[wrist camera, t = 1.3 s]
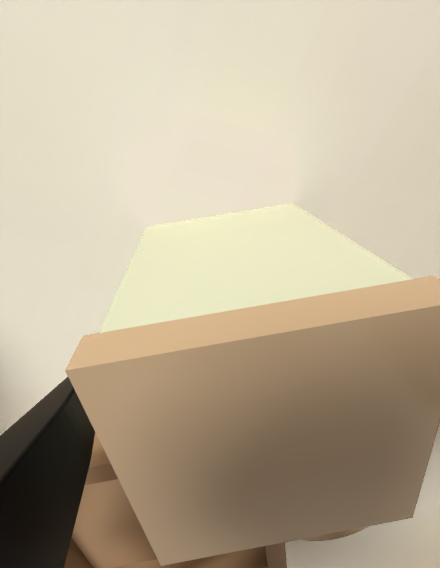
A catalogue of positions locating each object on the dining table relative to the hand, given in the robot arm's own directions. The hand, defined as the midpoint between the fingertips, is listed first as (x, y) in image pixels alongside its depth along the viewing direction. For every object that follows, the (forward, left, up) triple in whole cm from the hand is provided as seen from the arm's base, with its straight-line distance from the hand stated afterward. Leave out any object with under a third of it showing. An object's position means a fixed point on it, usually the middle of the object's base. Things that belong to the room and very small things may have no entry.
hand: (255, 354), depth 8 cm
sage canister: (0, 0, -5) cm, 5 cm away
